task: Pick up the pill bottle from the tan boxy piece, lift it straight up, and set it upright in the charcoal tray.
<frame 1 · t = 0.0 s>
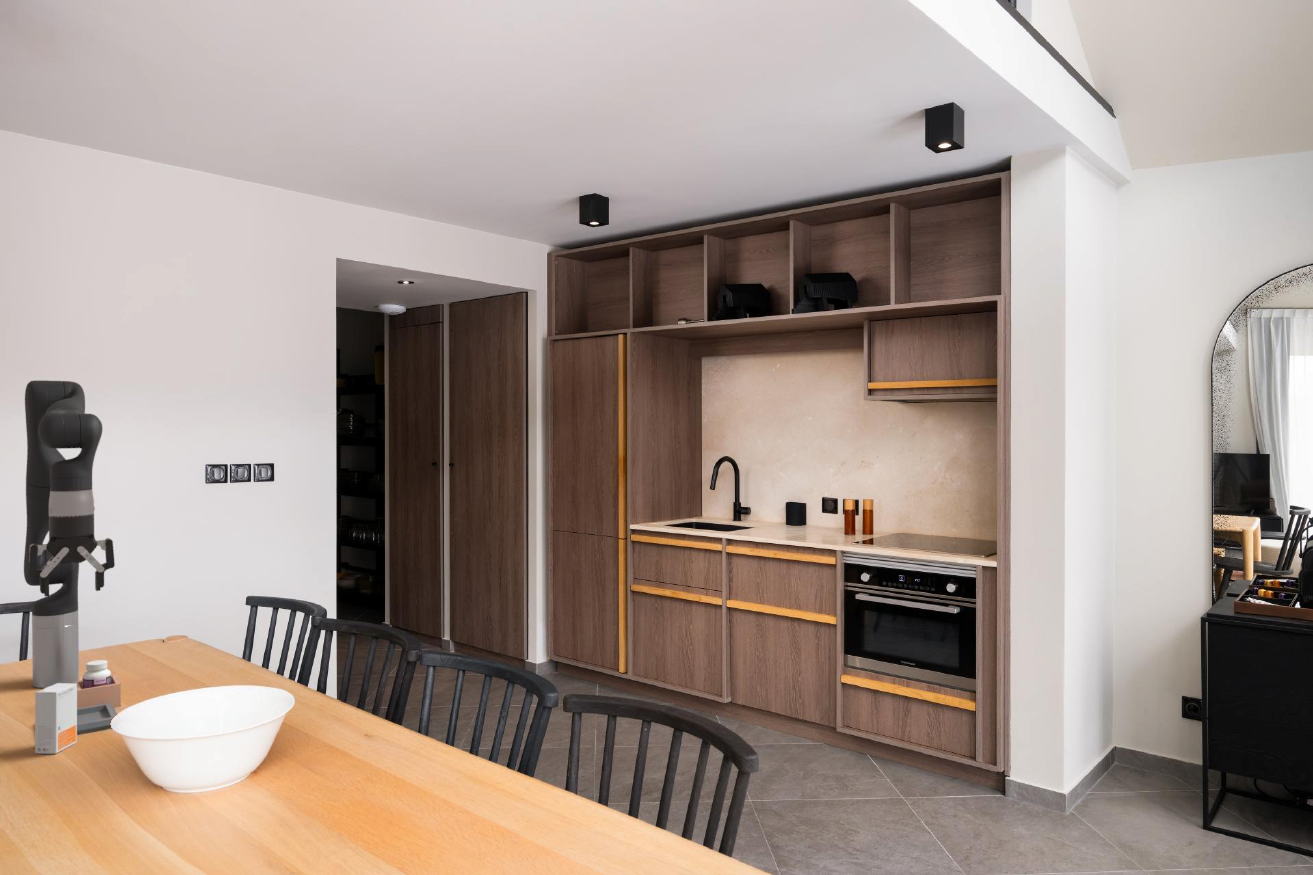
hand: (72, 592, 172), 29 cm above the table, tool pointing down, fingers open, 8 cm apart
pill bottle: (97, 705, 192), resting in tan boxy piece
tan boxy piece: (97, 704, 192), on the table
skincare box: (56, 749, 167), on the table
charcoal tray: (81, 725, 180), on the table
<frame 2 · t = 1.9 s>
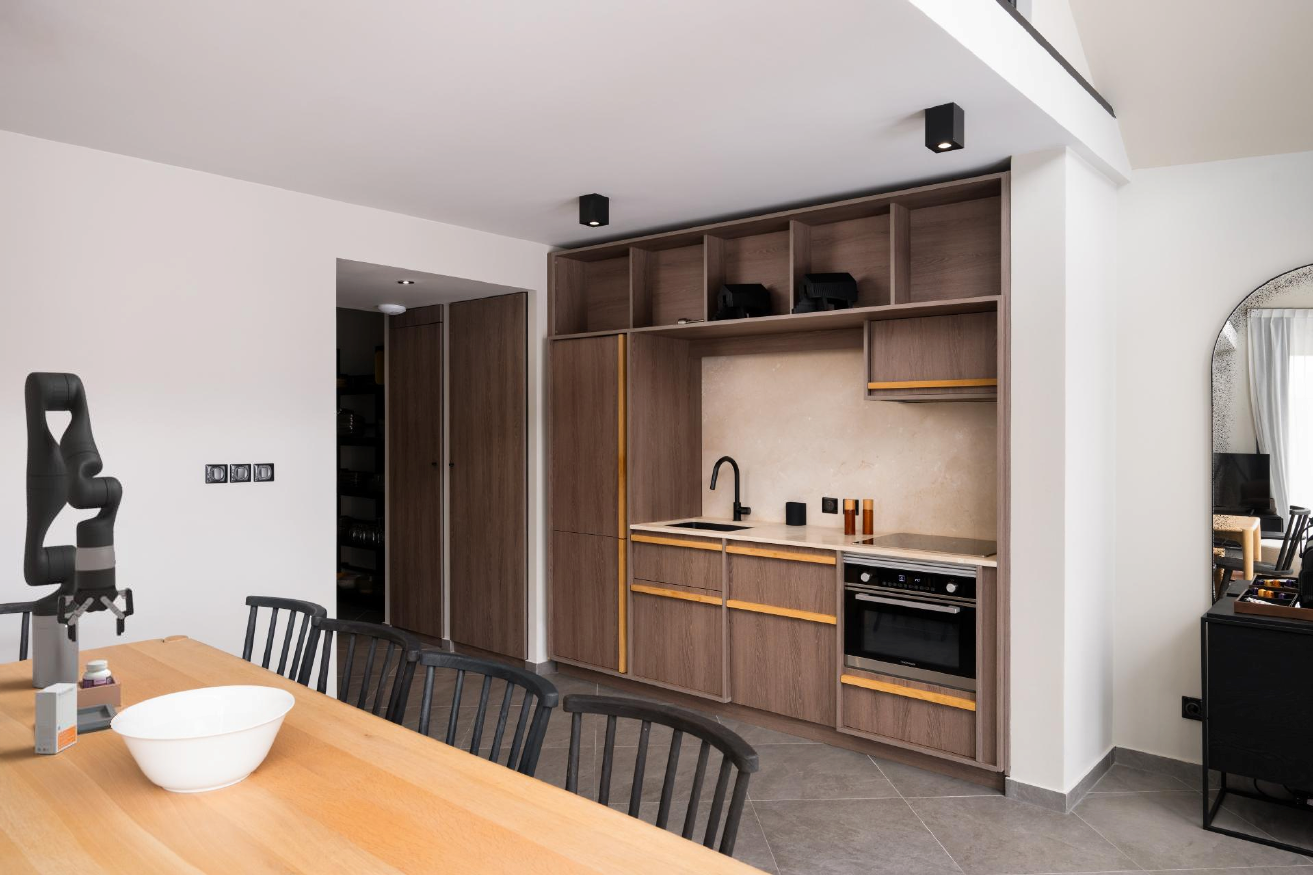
hand: (96, 638, 192), 15 cm above the table, tool pointing down, fingers open, 8 cm apart
nothing on the table moved.
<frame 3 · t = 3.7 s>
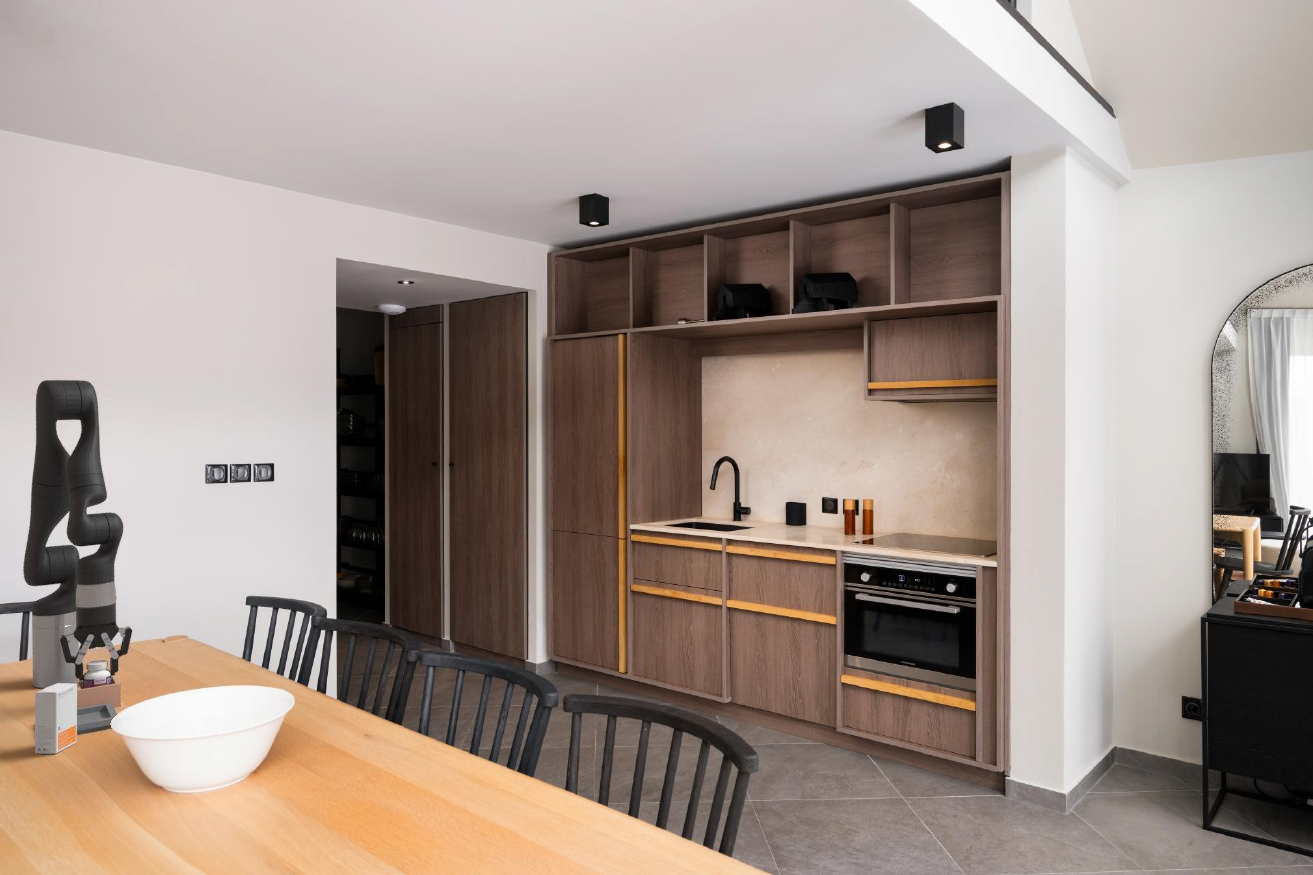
hand: (96, 676, 192), 6 cm above the table, tool pointing down, fingers closed on pill bottle, 5 cm apart
pill bottle: (97, 705, 192), resting in tan boxy piece, touching gripper
everything else where it was.
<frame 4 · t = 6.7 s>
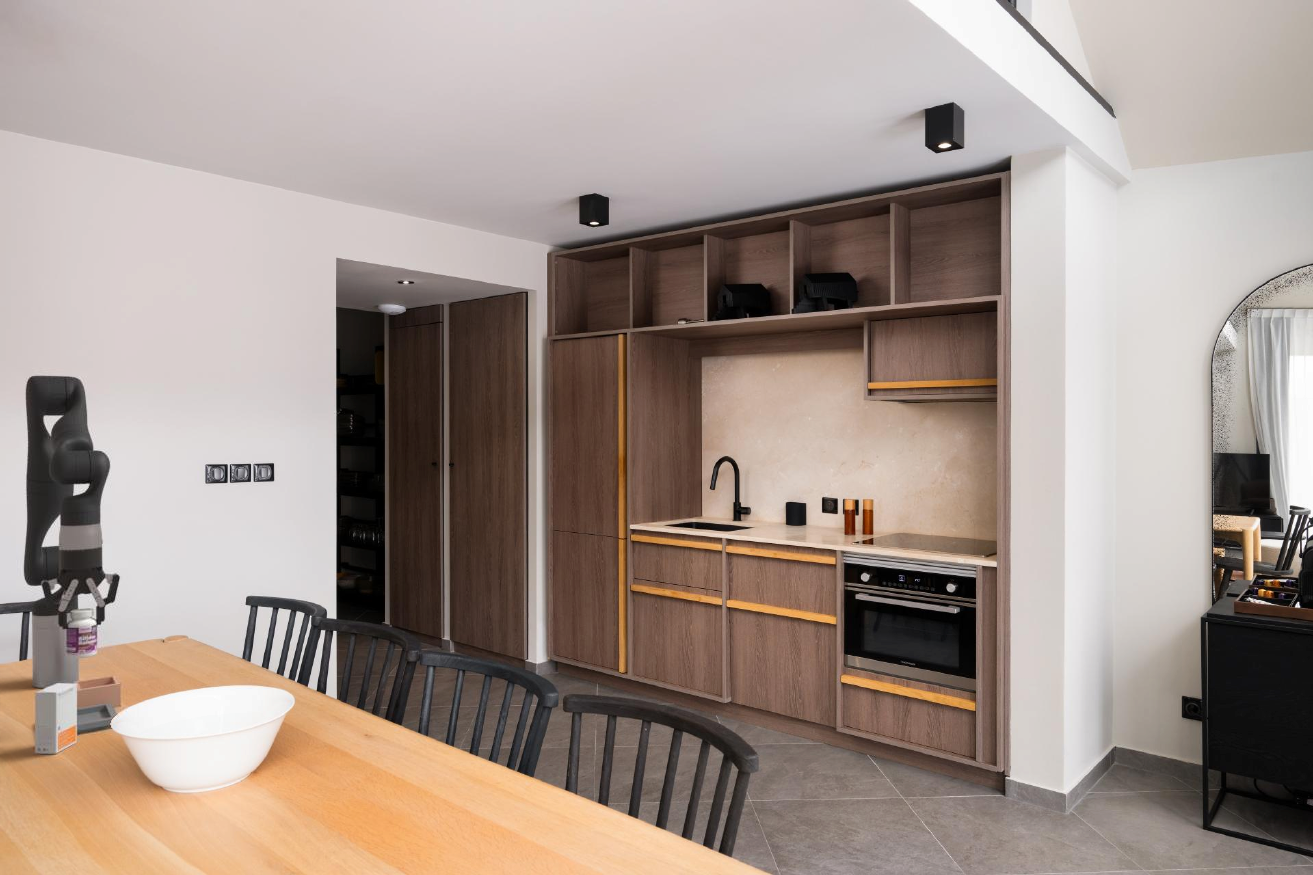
hand: (81, 626, 179), 21 cm above the table, tool pointing down, fingers closed on pill bottle, 5 cm apart
pill bottle: (82, 656, 179), point 14 cm above the table, touching gripper
everything else where it was.
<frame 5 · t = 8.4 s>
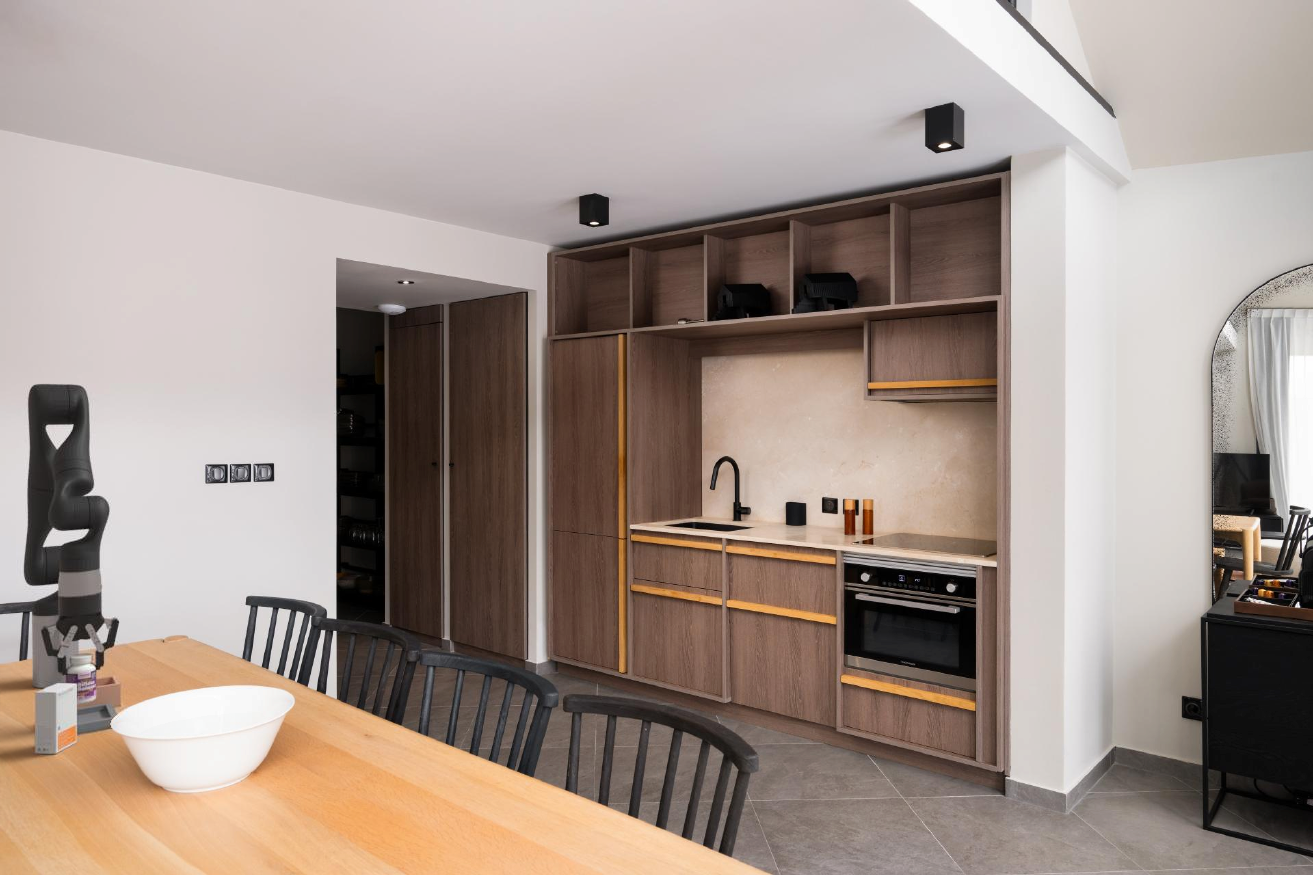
hand: (80, 671, 179), 11 cm above the table, tool pointing down, fingers closed on pill bottle, 5 cm apart
pill bottle: (81, 702, 179), point 5 cm above the table, touching gripper
everything else where it was.
when the fingers open (9 cm above the table, at t = 9.9 s): pill bottle drops 1 cm, resting on charcoal tray.
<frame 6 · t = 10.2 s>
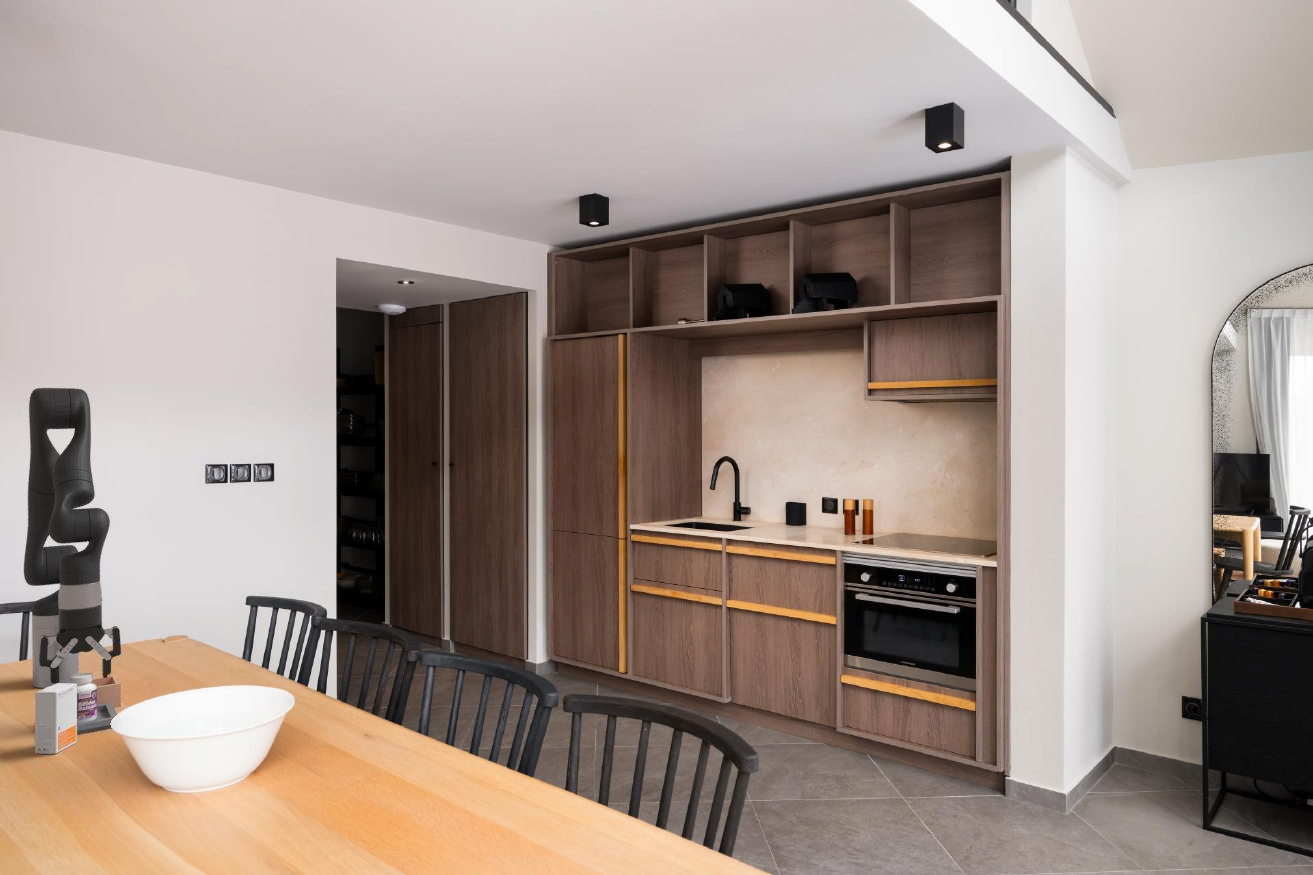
hand: (81, 680, 179), 9 cm above the table, tool pointing down, fingers open, 8 cm apart
pill bottle: (82, 721, 180), point 1 cm above the table, touching charcoal tray
everything else where it was.
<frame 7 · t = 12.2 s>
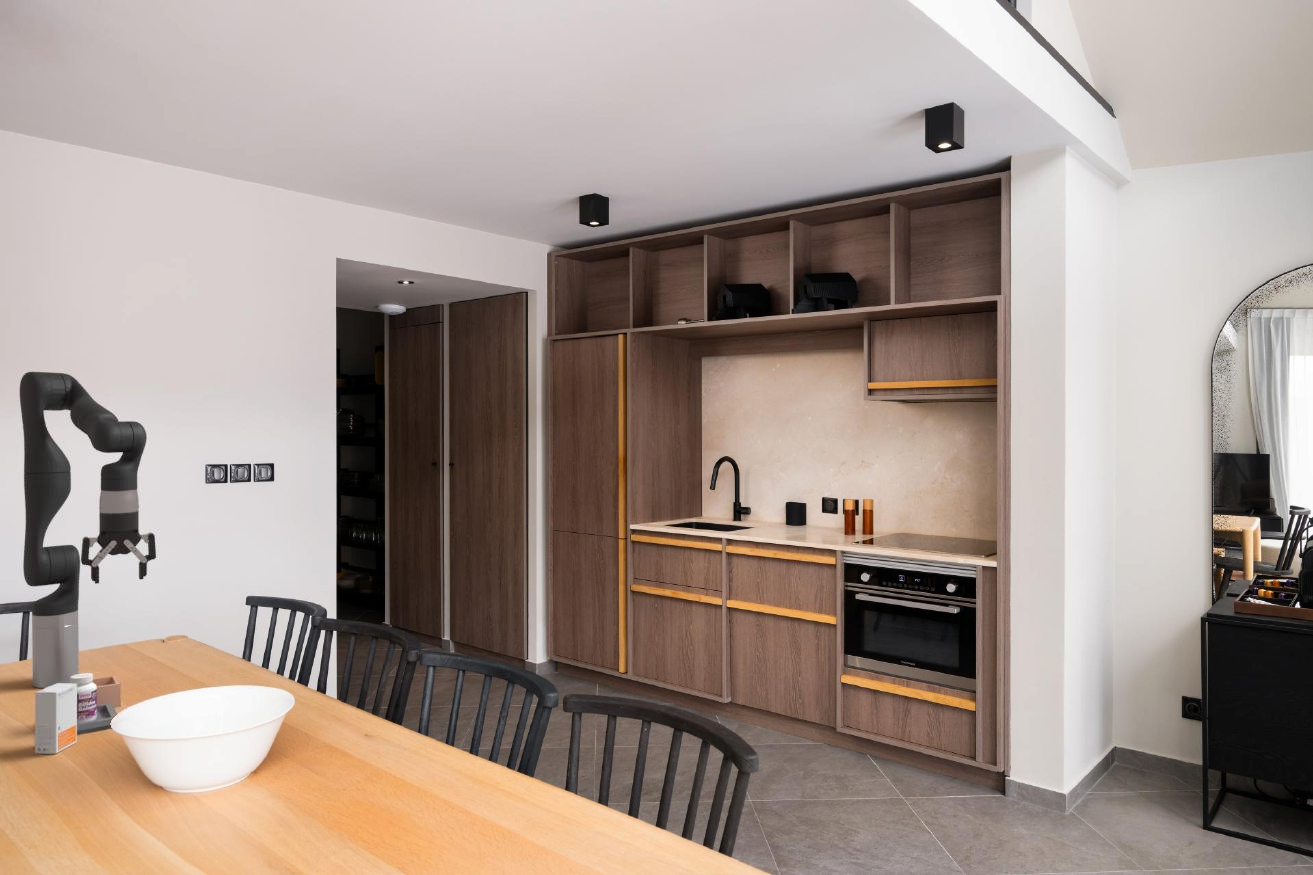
hand: (119, 580, 194), 28 cm above the table, tool pointing down, fingers open, 8 cm apart
nothing on the table moved.
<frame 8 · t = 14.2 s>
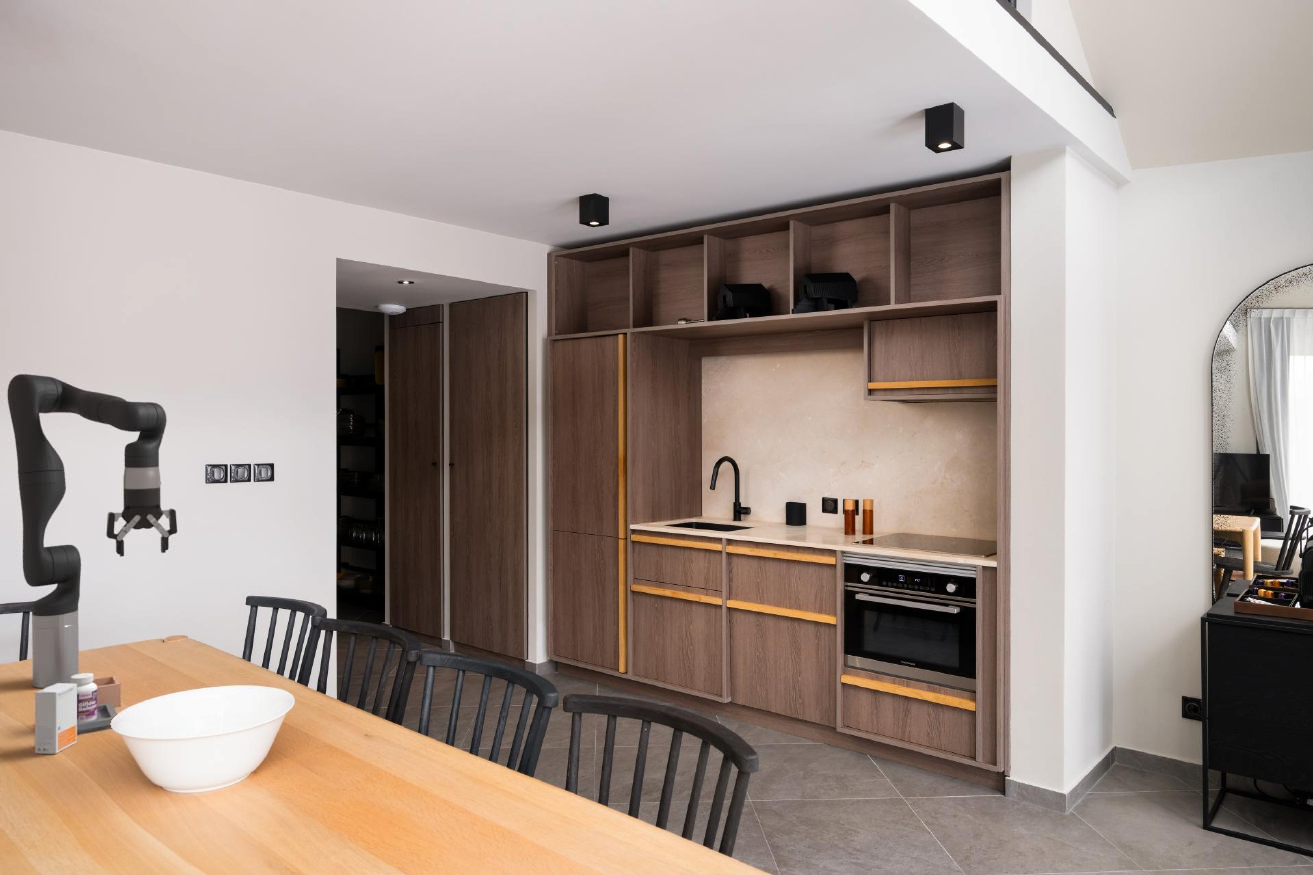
hand: (142, 554, 203), 32 cm above the table, tool pointing down, fingers open, 8 cm apart
nothing on the table moved.
at the end: pill bottle inside the target area on the charcoal tray (0.1 cm from its centre), point 0.6 cm above the charcoal tray's base; pill bottle tilted 0°; the gripper is holding nothing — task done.
